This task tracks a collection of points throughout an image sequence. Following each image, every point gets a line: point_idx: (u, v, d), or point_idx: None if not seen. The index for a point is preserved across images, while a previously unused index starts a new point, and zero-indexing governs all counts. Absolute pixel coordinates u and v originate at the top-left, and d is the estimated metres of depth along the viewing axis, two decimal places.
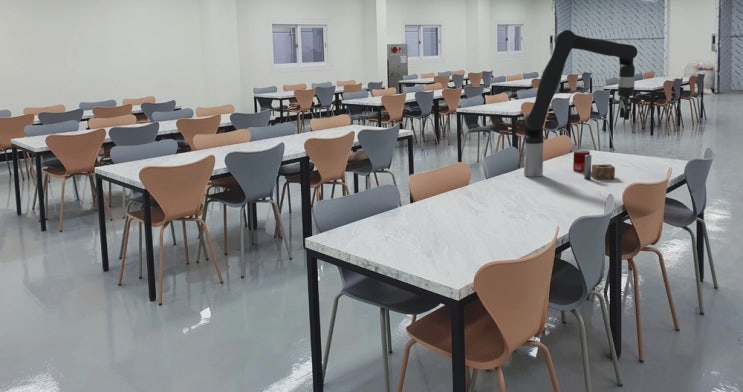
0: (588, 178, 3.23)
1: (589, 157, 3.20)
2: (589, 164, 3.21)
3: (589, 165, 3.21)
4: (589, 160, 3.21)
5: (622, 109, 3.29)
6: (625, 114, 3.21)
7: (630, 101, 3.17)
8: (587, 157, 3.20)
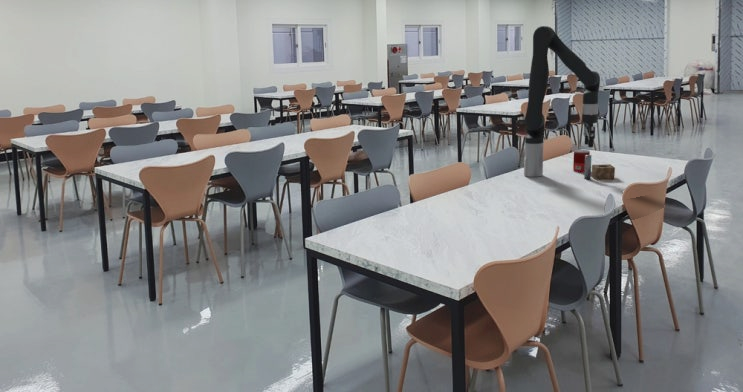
0: (588, 178, 3.23)
1: (589, 157, 3.20)
2: (589, 164, 3.21)
3: (589, 165, 3.21)
4: (589, 160, 3.21)
5: (587, 136, 3.23)
6: (589, 142, 3.15)
7: (593, 129, 3.12)
8: (587, 157, 3.20)
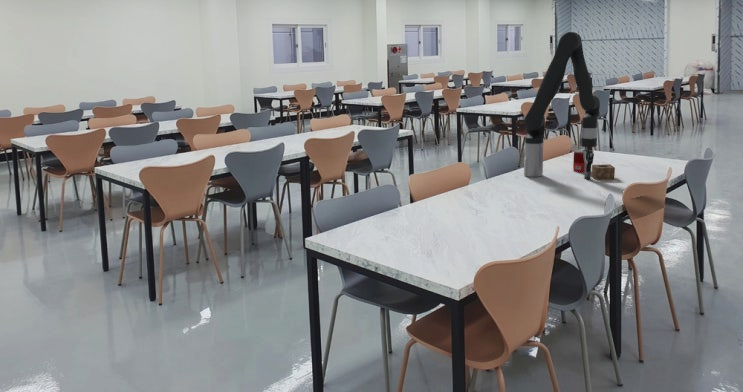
0: (588, 178, 3.23)
1: None
2: None
3: None
4: (589, 160, 3.21)
5: None
6: (587, 166, 3.21)
7: (592, 156, 3.15)
8: None
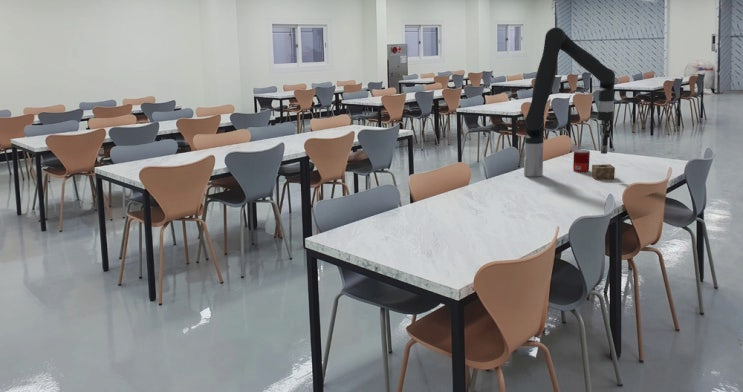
0: (605, 152, 3.21)
1: None
2: None
3: None
4: (606, 134, 3.19)
5: None
6: (603, 140, 3.19)
7: (609, 129, 3.14)
8: None
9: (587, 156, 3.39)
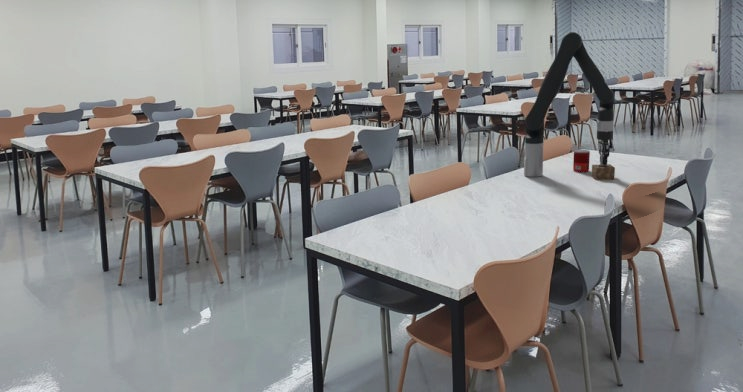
0: None
1: None
2: None
3: None
4: None
5: None
6: (603, 159, 3.20)
7: (608, 148, 3.16)
8: None
9: (587, 156, 3.39)
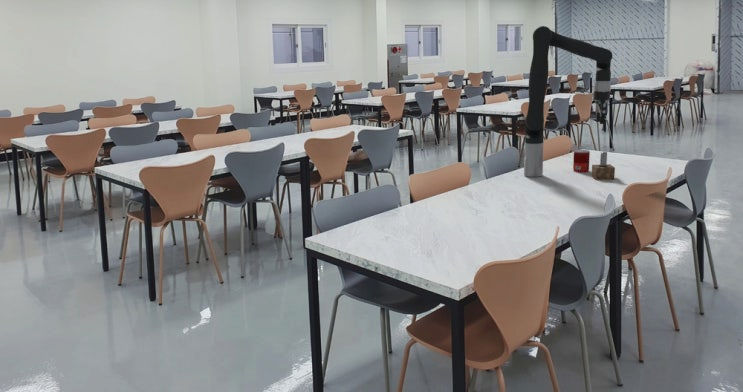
0: None
1: (605, 154, 3.22)
2: (605, 161, 3.22)
3: (605, 162, 3.22)
4: (605, 157, 3.22)
5: (598, 113, 3.27)
6: (600, 118, 3.19)
7: (605, 105, 3.15)
8: (603, 154, 3.22)
9: (587, 156, 3.39)
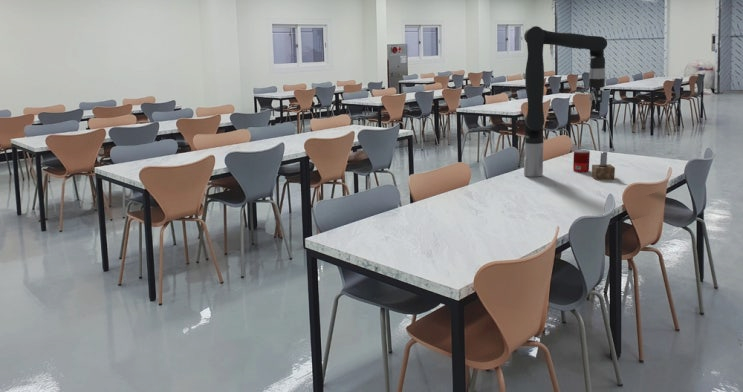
0: None
1: (605, 154, 3.22)
2: (605, 161, 3.22)
3: (605, 162, 3.22)
4: (605, 157, 3.22)
5: (594, 101, 3.30)
6: (596, 106, 3.22)
7: (600, 92, 3.18)
8: (603, 154, 3.22)
9: (587, 156, 3.39)
